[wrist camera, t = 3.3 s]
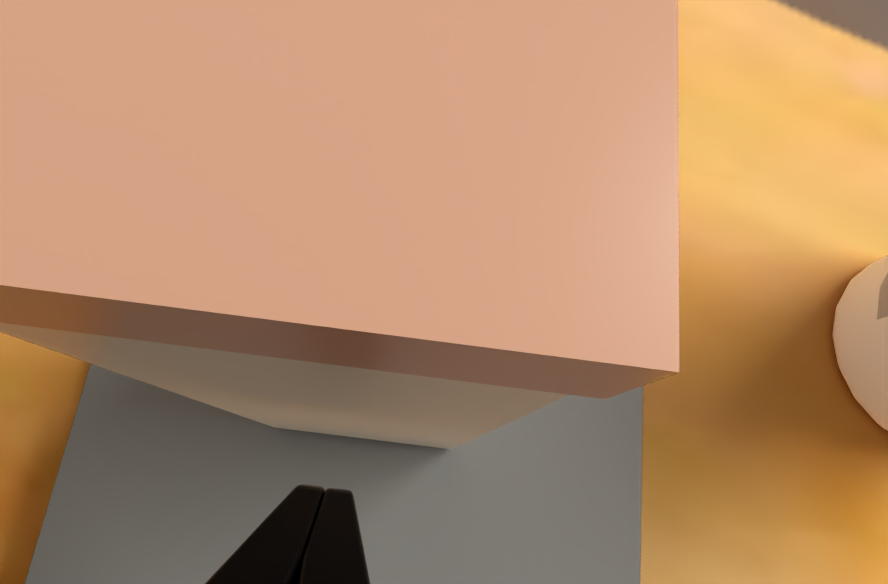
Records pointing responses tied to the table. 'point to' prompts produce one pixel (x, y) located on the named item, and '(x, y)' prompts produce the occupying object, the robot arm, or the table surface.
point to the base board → (351, 468)
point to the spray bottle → (865, 339)
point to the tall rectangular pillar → (346, 203)
